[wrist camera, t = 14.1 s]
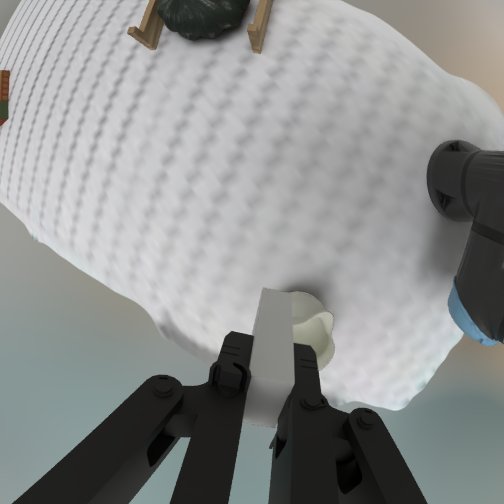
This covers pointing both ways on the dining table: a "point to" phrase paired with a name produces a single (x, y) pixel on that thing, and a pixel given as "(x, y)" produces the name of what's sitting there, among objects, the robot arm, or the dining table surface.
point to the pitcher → (313, 326)
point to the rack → (154, 24)
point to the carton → (4, 95)
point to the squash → (201, 16)
